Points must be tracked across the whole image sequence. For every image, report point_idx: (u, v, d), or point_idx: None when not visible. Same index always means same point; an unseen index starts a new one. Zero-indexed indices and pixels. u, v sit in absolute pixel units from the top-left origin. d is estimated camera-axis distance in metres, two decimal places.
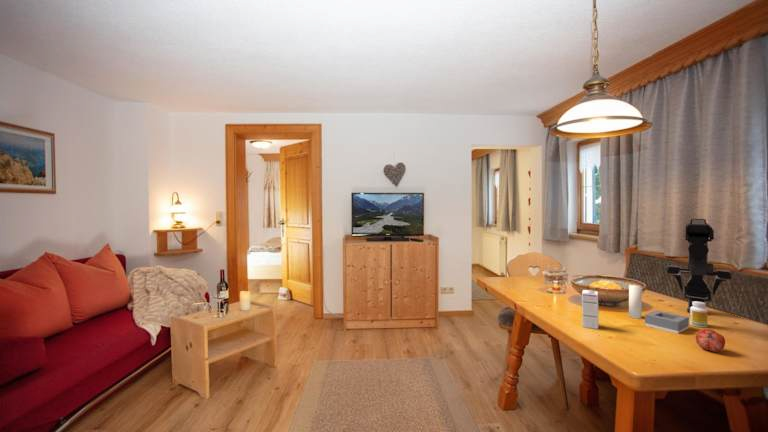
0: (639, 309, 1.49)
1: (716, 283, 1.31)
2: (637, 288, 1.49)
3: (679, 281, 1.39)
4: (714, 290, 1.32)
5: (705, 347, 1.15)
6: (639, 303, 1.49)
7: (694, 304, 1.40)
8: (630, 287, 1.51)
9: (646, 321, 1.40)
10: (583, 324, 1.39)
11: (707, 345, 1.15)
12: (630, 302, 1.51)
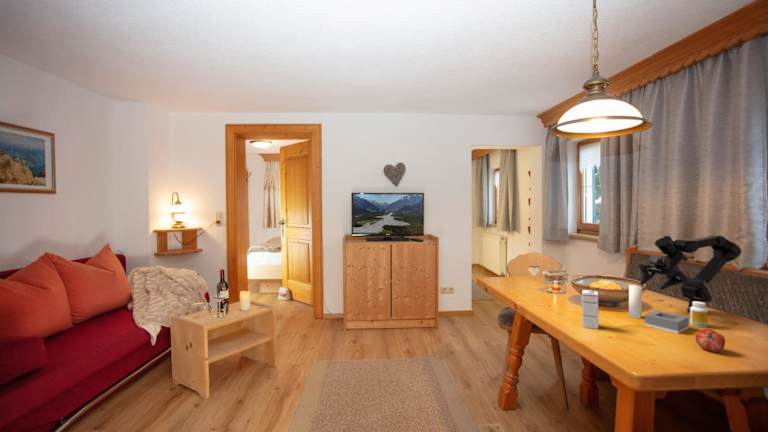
0: (639, 309, 1.49)
1: (667, 278, 1.47)
2: (637, 288, 1.49)
3: (643, 275, 1.58)
4: (662, 284, 1.48)
5: (705, 347, 1.15)
6: (639, 303, 1.49)
7: (694, 304, 1.40)
8: (630, 287, 1.51)
9: (646, 321, 1.40)
10: (583, 324, 1.39)
11: (707, 345, 1.15)
12: (630, 302, 1.51)
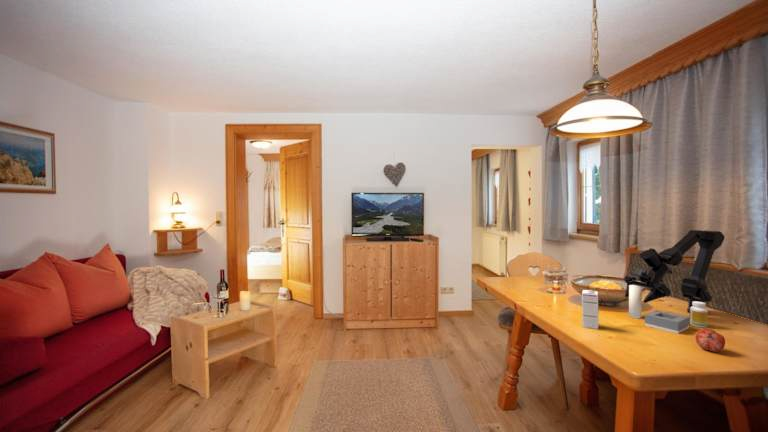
0: (639, 309, 1.49)
1: (650, 292, 1.46)
2: (637, 288, 1.49)
3: (627, 287, 1.57)
4: (646, 297, 1.46)
5: (705, 347, 1.15)
6: (639, 303, 1.49)
7: (694, 304, 1.40)
8: (630, 287, 1.51)
9: (646, 321, 1.40)
10: (583, 324, 1.39)
11: (707, 345, 1.15)
12: (630, 302, 1.51)
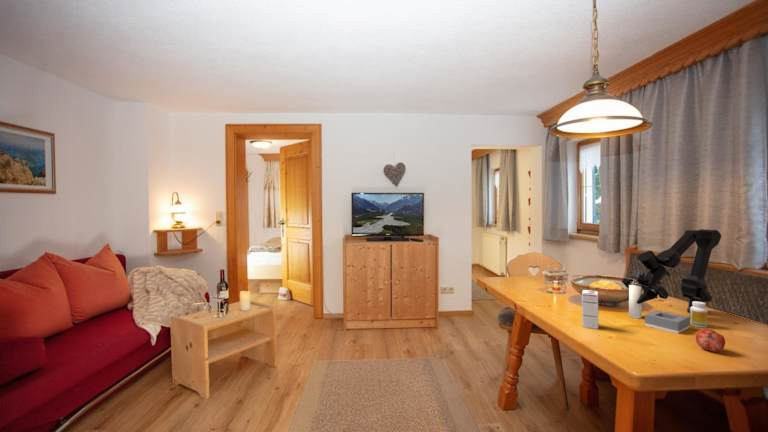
0: (639, 309, 1.49)
1: (644, 293, 1.48)
2: (637, 288, 1.49)
3: None
4: (639, 298, 1.48)
5: (705, 347, 1.15)
6: None
7: (694, 304, 1.40)
8: (630, 287, 1.51)
9: (646, 321, 1.40)
10: (583, 324, 1.39)
11: (707, 345, 1.15)
12: (630, 302, 1.51)
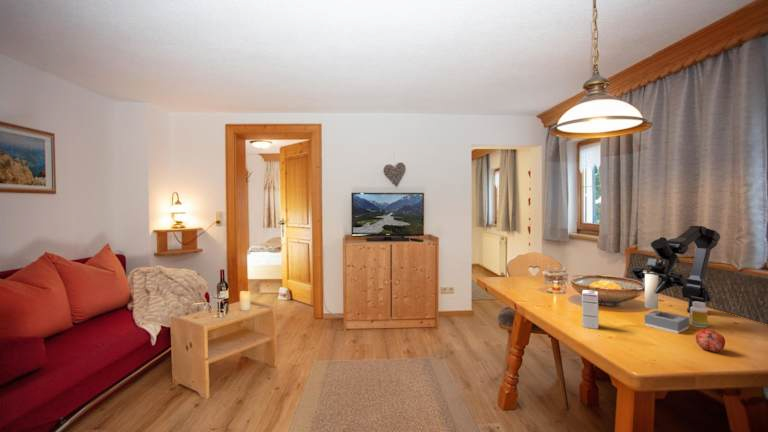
0: (657, 299, 1.42)
1: (662, 281, 1.41)
2: (655, 277, 1.41)
3: (644, 280, 1.47)
4: (658, 287, 1.41)
5: (705, 347, 1.15)
6: None
7: (694, 304, 1.40)
8: (647, 276, 1.43)
9: (646, 321, 1.40)
10: (583, 324, 1.39)
11: (707, 345, 1.15)
12: (647, 292, 1.43)
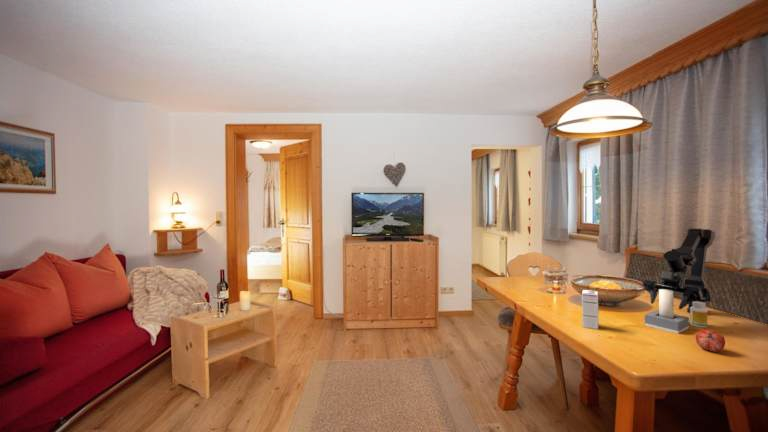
0: (673, 315, 1.37)
1: (684, 296, 1.35)
2: (671, 293, 1.36)
3: (651, 292, 1.44)
4: (681, 303, 1.34)
5: (705, 347, 1.15)
6: (673, 309, 1.37)
7: (694, 304, 1.40)
8: (662, 292, 1.38)
9: (646, 321, 1.40)
10: (583, 324, 1.39)
11: (707, 345, 1.15)
12: (663, 309, 1.38)
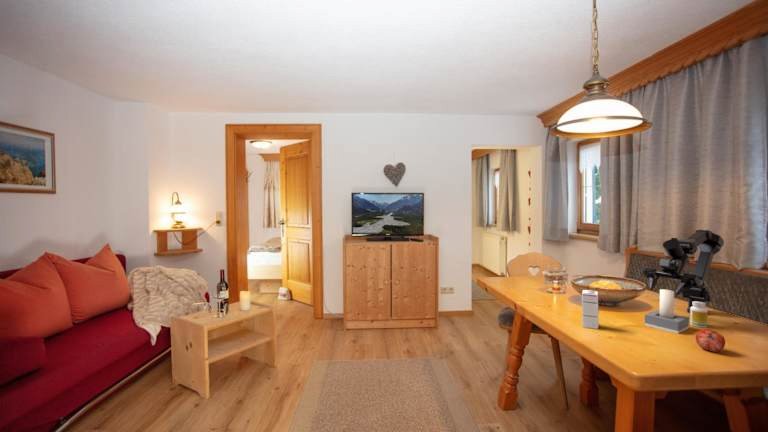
0: (673, 316, 1.37)
1: (681, 283, 1.40)
2: (672, 293, 1.36)
3: (650, 280, 1.49)
4: (677, 289, 1.39)
5: (705, 347, 1.15)
6: (673, 309, 1.37)
7: (694, 304, 1.40)
8: (663, 292, 1.38)
9: (646, 321, 1.40)
10: (583, 324, 1.39)
11: (707, 345, 1.15)
12: (663, 309, 1.38)
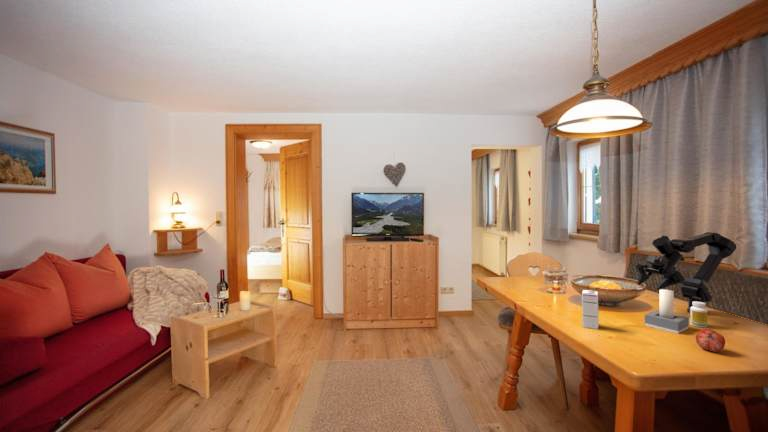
0: (673, 315, 1.37)
1: (664, 278, 1.46)
2: (671, 293, 1.37)
3: (640, 275, 1.57)
4: (660, 284, 1.47)
5: (705, 347, 1.15)
6: (673, 309, 1.37)
7: (694, 304, 1.40)
8: (663, 292, 1.38)
9: (646, 321, 1.40)
10: (583, 324, 1.39)
11: (707, 345, 1.15)
12: (663, 309, 1.38)
